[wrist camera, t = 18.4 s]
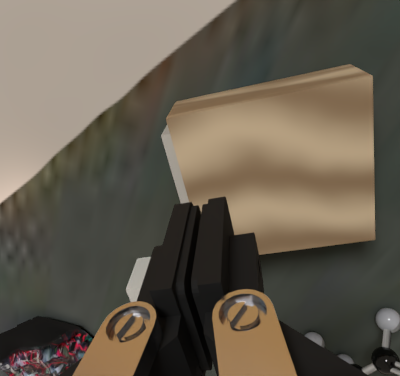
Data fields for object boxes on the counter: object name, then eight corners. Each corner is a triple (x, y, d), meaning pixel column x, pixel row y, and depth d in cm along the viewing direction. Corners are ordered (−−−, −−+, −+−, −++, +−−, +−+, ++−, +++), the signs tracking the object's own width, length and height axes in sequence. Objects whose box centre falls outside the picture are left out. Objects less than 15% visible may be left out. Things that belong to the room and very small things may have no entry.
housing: (356, 207, 35) (375, 239, 31) (209, 229, 38) (205, 261, 33) (350, 64, 29) (372, 75, 25) (176, 101, 32) (165, 118, 27)
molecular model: (295, 334, 44) (312, 424, 35) (376, 281, 40) (420, 369, 30) (339, 365, 46) (366, 458, 37) (421, 319, 42) (476, 412, 32)
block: (190, 286, 42) (184, 319, 38) (149, 291, 43) (140, 324, 38) (179, 252, 40) (172, 283, 35) (137, 258, 41) (125, 289, 36)
